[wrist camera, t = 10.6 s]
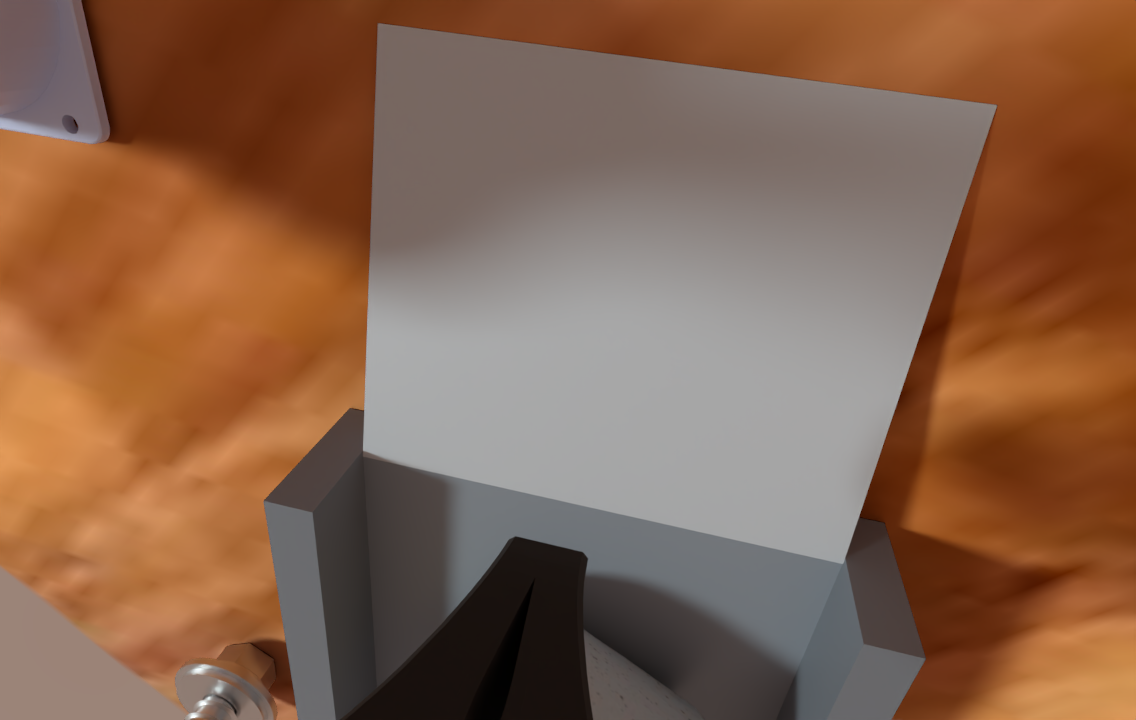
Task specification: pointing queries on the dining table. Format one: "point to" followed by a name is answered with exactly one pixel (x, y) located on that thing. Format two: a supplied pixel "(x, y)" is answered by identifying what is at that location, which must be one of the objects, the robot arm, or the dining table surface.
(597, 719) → the ceramic mug
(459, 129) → the dock
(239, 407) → the dining table surface
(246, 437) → the dining table surface
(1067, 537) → the dining table surface
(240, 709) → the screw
